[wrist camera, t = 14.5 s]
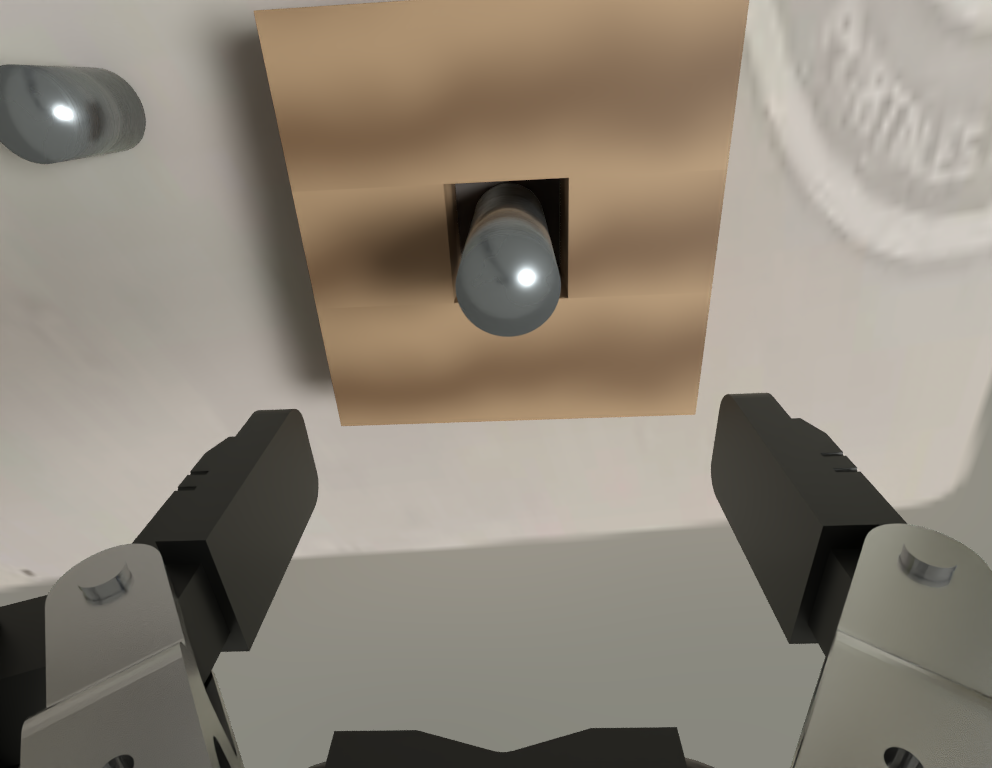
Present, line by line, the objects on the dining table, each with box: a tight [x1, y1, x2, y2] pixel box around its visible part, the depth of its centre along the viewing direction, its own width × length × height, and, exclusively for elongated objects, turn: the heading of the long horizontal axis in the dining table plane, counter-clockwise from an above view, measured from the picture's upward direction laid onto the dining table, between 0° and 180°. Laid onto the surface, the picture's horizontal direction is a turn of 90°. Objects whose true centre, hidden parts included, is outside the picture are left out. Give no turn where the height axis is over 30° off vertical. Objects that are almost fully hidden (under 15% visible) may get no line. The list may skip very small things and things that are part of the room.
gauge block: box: [254, 0, 749, 426], centre depth 27 cm, size 18×18×5 cm
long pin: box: [455, 183, 561, 337], centre depth 24 cm, size 4×4×11 cm
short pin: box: [0, 65, 146, 164], centre depth 25 cm, size 4×4×5 cm
